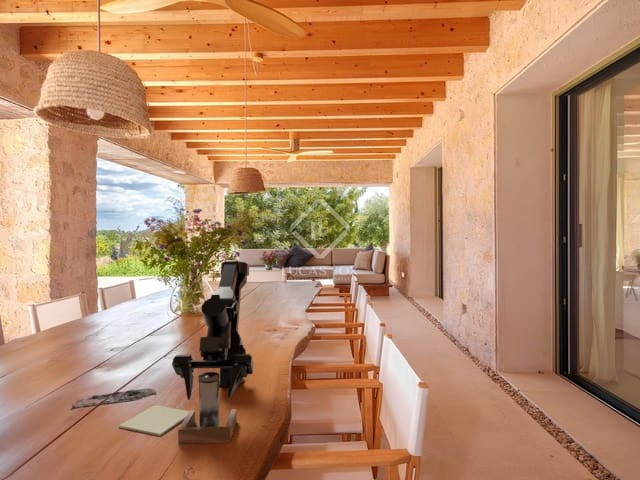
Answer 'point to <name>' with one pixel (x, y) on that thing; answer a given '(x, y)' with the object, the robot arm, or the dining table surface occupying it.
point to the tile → (155, 420)
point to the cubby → (206, 430)
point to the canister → (209, 399)
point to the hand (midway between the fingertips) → (208, 398)
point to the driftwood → (119, 397)
